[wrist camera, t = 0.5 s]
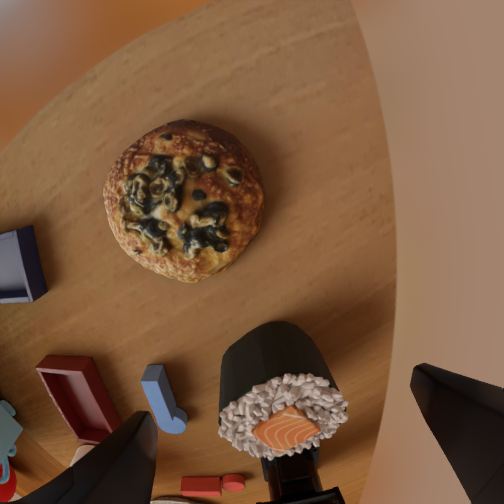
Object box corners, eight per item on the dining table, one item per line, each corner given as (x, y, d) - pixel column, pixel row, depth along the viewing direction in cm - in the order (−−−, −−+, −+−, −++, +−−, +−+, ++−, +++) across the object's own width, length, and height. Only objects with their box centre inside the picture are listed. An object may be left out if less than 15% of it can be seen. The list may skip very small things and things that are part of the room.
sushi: (336, 362, 24) (369, 423, 16) (263, 411, 24) (273, 476, 17) (282, 302, 22) (306, 361, 14) (203, 361, 23) (193, 431, 15)
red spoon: (242, 472, 27) (243, 487, 25) (245, 482, 28) (246, 496, 25) (180, 474, 27) (178, 488, 24) (186, 484, 27) (184, 498, 25)
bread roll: (260, 115, 18) (266, 107, 14) (264, 265, 22) (270, 298, 18) (109, 132, 18) (74, 132, 14) (128, 270, 22) (104, 301, 18)
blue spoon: (190, 424, 25) (188, 441, 22) (164, 424, 24) (160, 441, 22) (170, 364, 23) (165, 381, 20) (140, 365, 23) (133, 381, 20)
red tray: (128, 432, 25) (123, 447, 22) (84, 427, 24) (77, 441, 22) (92, 357, 22) (81, 371, 20) (46, 355, 22) (35, 367, 20)
